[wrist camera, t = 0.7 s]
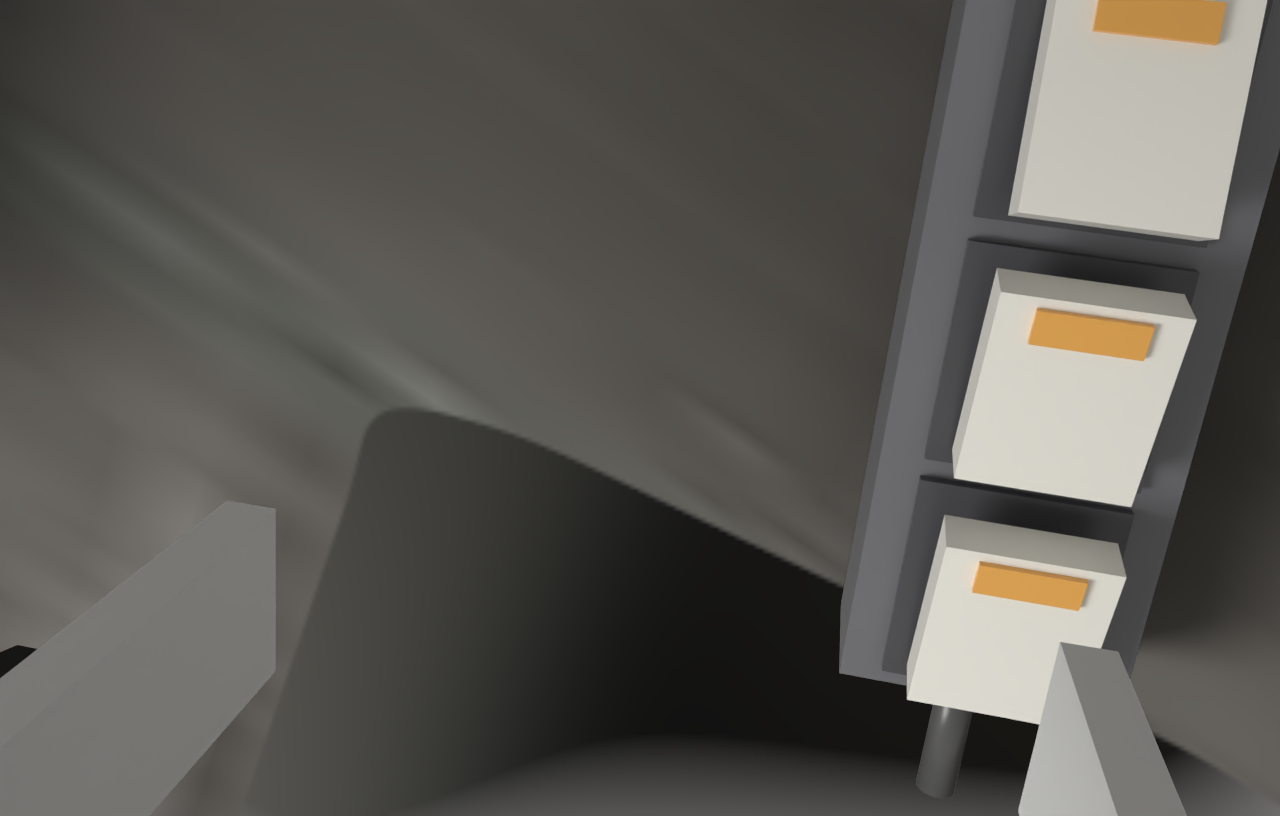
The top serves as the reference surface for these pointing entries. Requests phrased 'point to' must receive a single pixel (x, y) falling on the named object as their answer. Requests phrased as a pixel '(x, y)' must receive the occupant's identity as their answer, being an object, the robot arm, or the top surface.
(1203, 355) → the power strip
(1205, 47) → the rocker
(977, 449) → the rocker
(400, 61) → the top surface
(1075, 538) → the rocker
